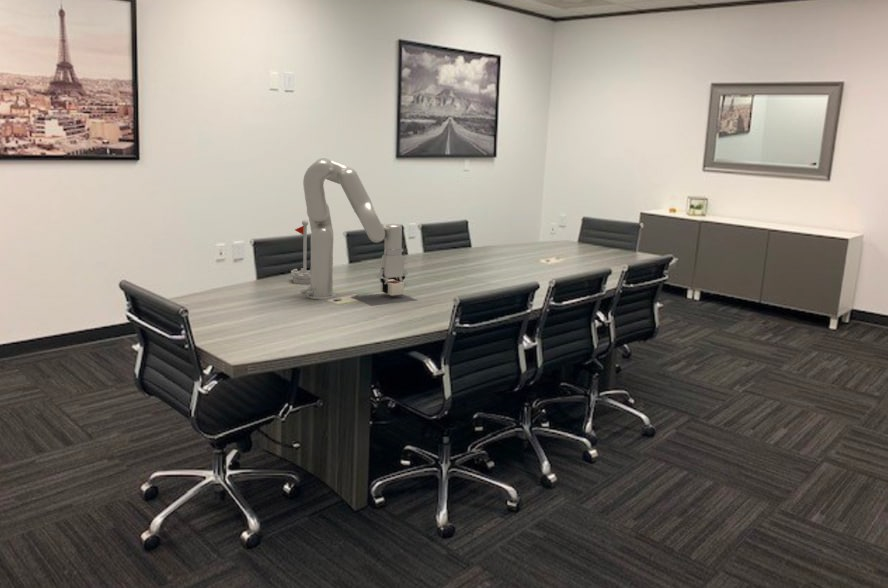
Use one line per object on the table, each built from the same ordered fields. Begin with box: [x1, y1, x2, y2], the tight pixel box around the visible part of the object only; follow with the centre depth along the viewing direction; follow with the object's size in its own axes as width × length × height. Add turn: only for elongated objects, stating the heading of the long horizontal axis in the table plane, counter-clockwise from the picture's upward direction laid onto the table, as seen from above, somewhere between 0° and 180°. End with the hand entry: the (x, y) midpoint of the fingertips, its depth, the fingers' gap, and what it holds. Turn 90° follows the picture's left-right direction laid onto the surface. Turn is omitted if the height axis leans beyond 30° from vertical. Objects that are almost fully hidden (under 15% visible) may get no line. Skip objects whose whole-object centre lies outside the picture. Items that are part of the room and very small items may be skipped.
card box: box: [380, 279, 405, 296], centre depth 324 cm, size 9×6×5 cm
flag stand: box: [290, 219, 311, 285], centre depth 347 cm, size 13×13×30 cm
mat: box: [350, 292, 417, 307], centre depth 321 cm, size 24×18×1 cm
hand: (392, 291), depth 325 cm, fingers closed on card box, 6 cm apart
